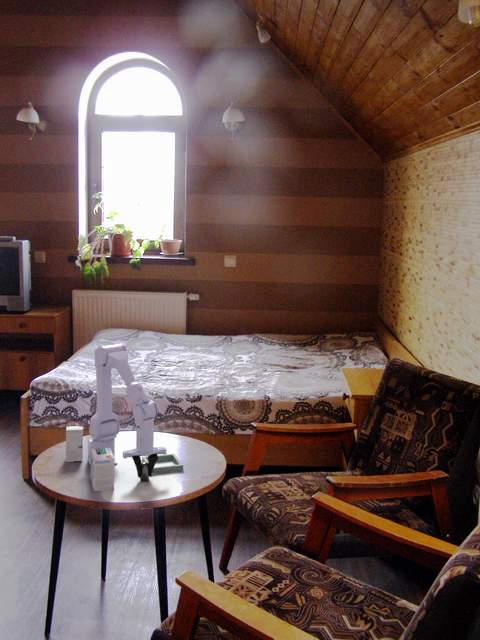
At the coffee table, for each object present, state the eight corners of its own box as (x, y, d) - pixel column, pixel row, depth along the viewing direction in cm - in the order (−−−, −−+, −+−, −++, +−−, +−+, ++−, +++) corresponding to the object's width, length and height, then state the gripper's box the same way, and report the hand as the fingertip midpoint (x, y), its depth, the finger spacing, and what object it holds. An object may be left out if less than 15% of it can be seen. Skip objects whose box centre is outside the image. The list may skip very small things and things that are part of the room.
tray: (149, 474, 228) (149, 468, 228) (142, 462, 239) (142, 456, 239) (183, 470, 233) (183, 465, 232) (174, 458, 244) (174, 453, 243)
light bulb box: (90, 479, 222) (90, 448, 221) (110, 477, 225) (110, 447, 223) (93, 491, 213) (93, 459, 211) (114, 489, 215) (115, 458, 213)
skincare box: (65, 462, 237) (65, 430, 235) (65, 458, 241) (65, 426, 239) (83, 461, 238) (83, 429, 236) (83, 457, 242) (83, 425, 240)
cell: (141, 482, 221) (141, 464, 220) (139, 479, 224) (139, 461, 223) (149, 481, 222) (150, 463, 221) (147, 478, 225) (148, 460, 224)
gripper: (125, 443, 214) (125, 482, 216) (169, 439, 219) (168, 478, 221) (121, 436, 221) (121, 475, 223) (163, 432, 226) (163, 470, 228)
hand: (144, 476), depth 222 cm, fingers closed on cell, 3 cm apart
